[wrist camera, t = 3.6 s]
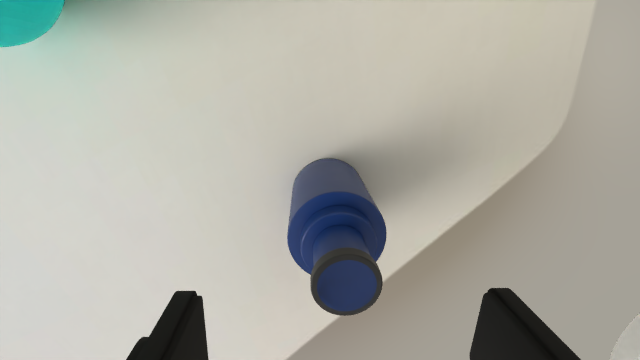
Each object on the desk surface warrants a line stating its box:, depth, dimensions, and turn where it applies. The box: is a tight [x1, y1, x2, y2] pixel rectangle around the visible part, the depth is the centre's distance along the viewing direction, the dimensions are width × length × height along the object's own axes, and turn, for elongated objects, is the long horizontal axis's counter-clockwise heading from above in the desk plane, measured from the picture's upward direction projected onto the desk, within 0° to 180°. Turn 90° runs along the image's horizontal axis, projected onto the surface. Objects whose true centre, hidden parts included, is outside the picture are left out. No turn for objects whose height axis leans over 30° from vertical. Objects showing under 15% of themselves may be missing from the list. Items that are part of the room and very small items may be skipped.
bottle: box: [287, 159, 386, 316], centre depth 18 cm, size 5×5×11 cm
